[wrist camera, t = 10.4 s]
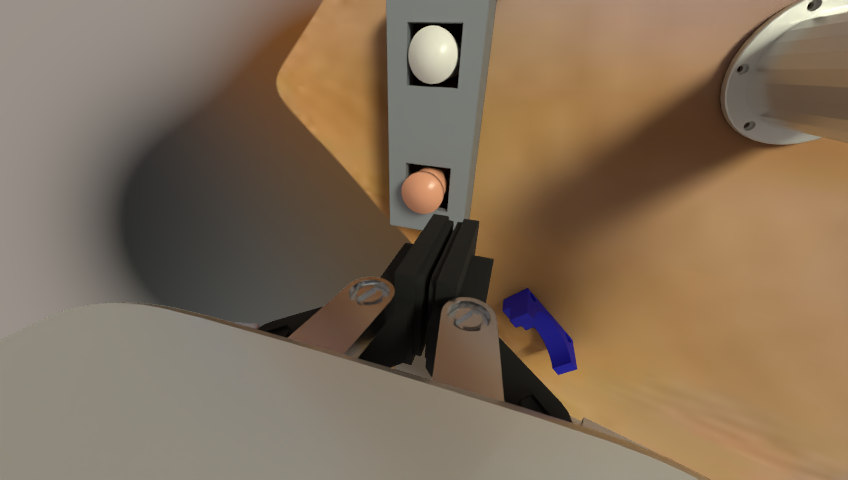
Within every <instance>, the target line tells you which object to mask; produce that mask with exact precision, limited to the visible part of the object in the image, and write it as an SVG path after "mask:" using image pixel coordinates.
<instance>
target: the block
mask: <svg viewBox="0 0 848 480" xmlns="http://www.w3.org/2000/svg"><path fill="white" fill-rule="evenodd" d="M496 2H497V0H386V14H387V73H388V131H389V190H390V225H394V226H400V227H406V228H412V229H417V230H423V229H424V228H425V226H426V225H427V223H428V222H429V220H430V219H431V217H432V216H433V214H438V215H444V216H449V220H451V221H454V227H453V230H454V228H455V226H456V224H457V222H463V220H464V219H469V218H470V210H471V202H472V194H473V186H474V178H475V170H476V162H477V154H478V146H479V138H480V130H481V122H482V114H483V106H484V98H485V90H486V82H487V74H488V66H489V58H490V50H491V42H492V34H493V26H494V18H495V10H496ZM413 23H429V24H463V32H462V44H461V56H460V68H459V79H458V88H449V87H433V86H416V85H412V70H411V67H410V64H409V59H408V52H409V47H410V43H411V41H412V39H413ZM411 164H419V165H427V166H435V167H443V168H451V174H450V186H449V198H448V209H445V208H437V209H436V210H435V211H433V212H431V213H428V214H420V213H416V212H414V211H412V210H411V209H410V208H408V206H407V205H406V204H405V202H404V200H403V198H402V193H401V190H402V185H403V183H404V181H405V180H406V179H407V178H408V177H409V176H410V173H411Z"/></svg>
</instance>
